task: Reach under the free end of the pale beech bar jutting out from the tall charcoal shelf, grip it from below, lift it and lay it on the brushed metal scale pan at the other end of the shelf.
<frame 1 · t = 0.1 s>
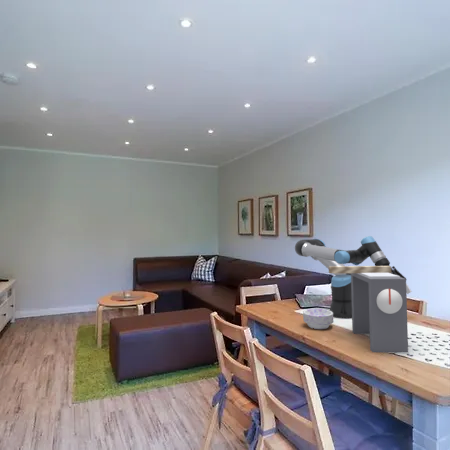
hand: (402, 294, 180), 15 cm above the table, tool tilted 35°, fingers open, 13 cm apart
paper bowls: (318, 327, 176), on the table
scale shelf: (377, 341, 152), on the table
disposable coffee cup: (338, 303, 233), on the table
beech bar: (359, 272, 160), point 30 cm above the table, touching scale shelf
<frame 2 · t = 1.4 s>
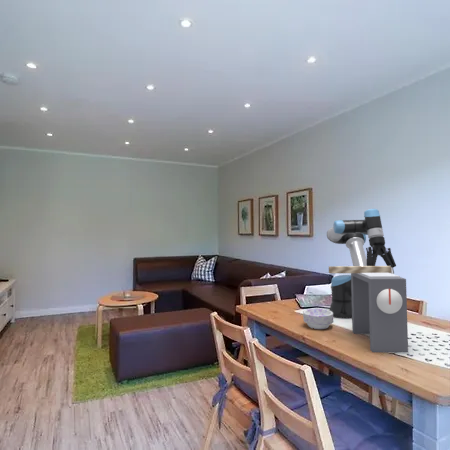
hand: (384, 280, 169), 25 cm above the table, tool tilted 20°, fingers open, 9 cm apart
nothing on the table moved.
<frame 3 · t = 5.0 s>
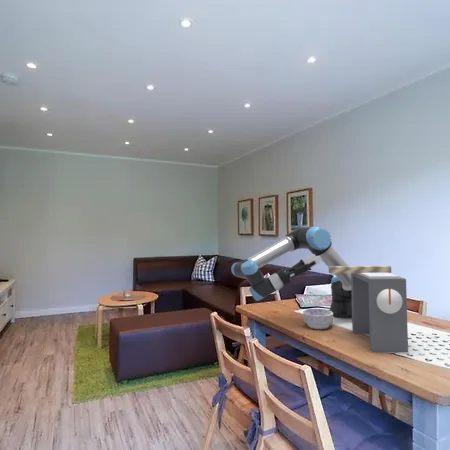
hand: (318, 257, 161), 38 cm above the table, tool pointing upward, fingers open, 13 cm apart
nothing on the table moved.
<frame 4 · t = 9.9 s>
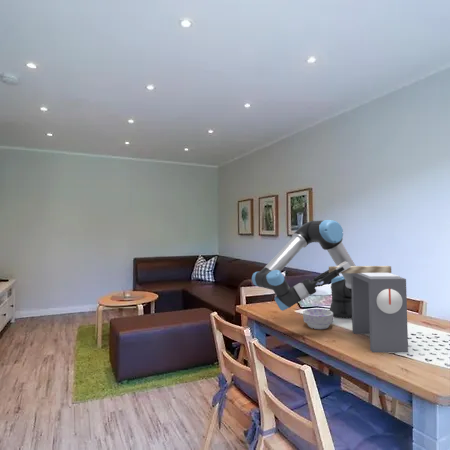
hand: (347, 264, 160), 34 cm above the table, tool pointing upward, fingers closed on beech bar, 3 cm apart
beech bar: (359, 272, 160), point 30 cm above the table, touching gripper
everything else where it was.
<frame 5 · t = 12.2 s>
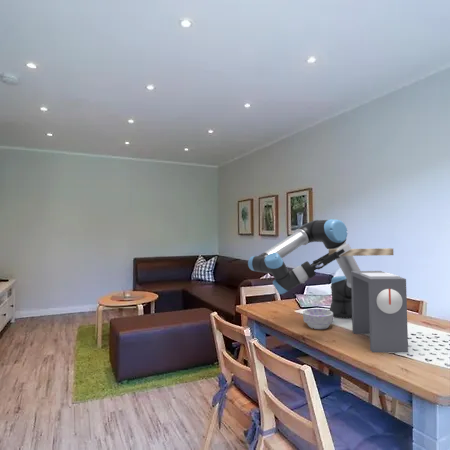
hand: (348, 246, 155), 43 cm above the table, tool pointing upward, fingers closed on beech bar, 3 cm apart
beech bar: (360, 255, 155), point 39 cm above the table, touching gripper
everything else where it was.
when the fingers open (36 cm above the table, at t = 14.8 s): beech bar stays where it is, resting on scale shelf.
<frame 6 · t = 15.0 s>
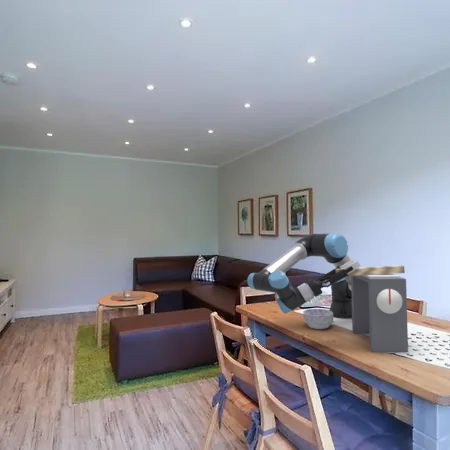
hand: (356, 262, 146), 36 cm above the table, tool pointing upward, fingers open, 5 cm apart
beech bar: (369, 274, 146), point 31 cm above the table, touching scale shelf
everything else where it was.
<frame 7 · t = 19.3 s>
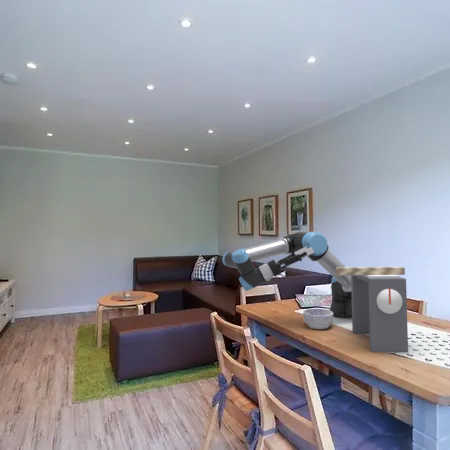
hand: (309, 249, 160), 42 cm above the table, tool pointing upward, fingers open, 13 cm apart
nothing on the table moved.
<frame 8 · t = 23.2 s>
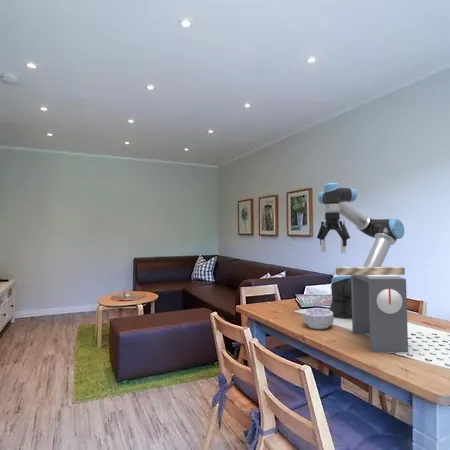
hand: (333, 252, 179), 39 cm above the table, tool pointing down, fingers open, 13 cm apart
nothing on the table moved.
at the end: beech bar 0.3 cm from the target spot, point 31.0 cm above the table; the gripper is holding nothing; beech bar tilted 0° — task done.
